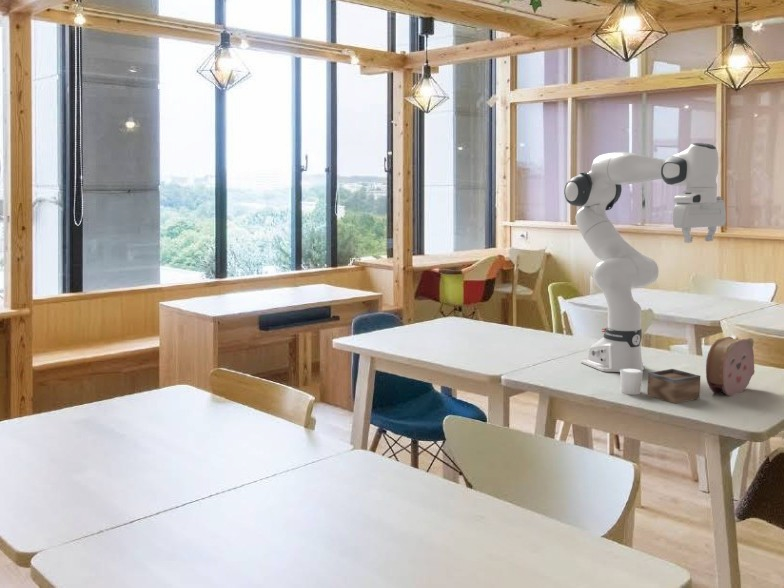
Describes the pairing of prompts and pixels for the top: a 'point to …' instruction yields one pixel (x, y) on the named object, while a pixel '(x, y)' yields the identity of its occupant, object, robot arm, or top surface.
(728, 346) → the face sculpture
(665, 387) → the wooden box
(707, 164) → the robot arm
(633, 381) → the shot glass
